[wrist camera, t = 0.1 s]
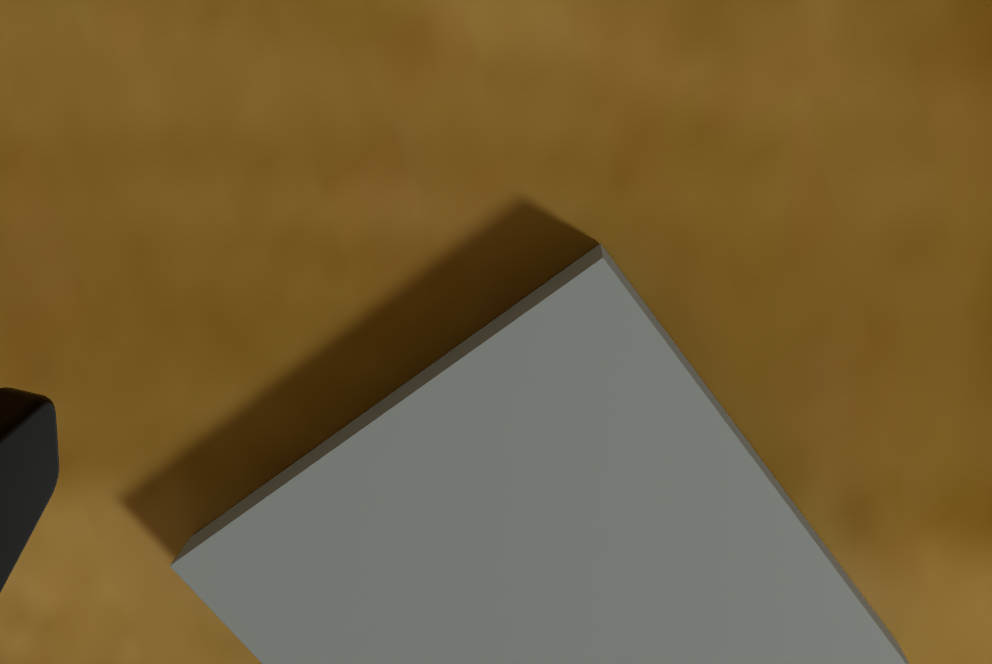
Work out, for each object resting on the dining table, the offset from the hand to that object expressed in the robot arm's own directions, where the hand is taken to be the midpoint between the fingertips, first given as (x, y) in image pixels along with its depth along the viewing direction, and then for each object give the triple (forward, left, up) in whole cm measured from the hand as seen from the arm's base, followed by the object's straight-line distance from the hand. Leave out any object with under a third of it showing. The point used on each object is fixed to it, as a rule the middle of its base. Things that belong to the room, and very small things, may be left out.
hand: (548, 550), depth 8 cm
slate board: (-7, -8, -15) cm, 19 cm away
